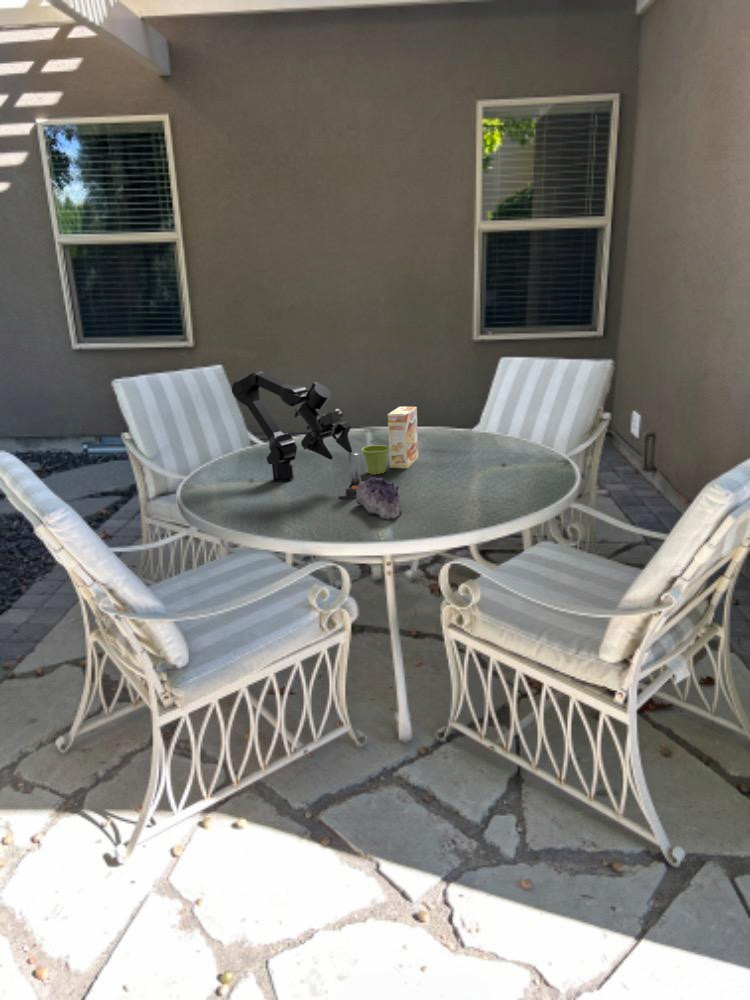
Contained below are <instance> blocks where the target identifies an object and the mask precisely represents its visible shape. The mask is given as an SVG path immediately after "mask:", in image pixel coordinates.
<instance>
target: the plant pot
mask: <svg viewBox="0 0 750 1000" xmlns="http://www.w3.org/2000/svg"><path fill="white" fill-rule="evenodd" d="M361 451H362V453H363V456H364V459H365V464H366V468H367V473H368V474H370V475H376V474H378V475H380V474H385V473H386V469H387V459H388V458H387V457H388V454H389V445H388V446H387V445H382V444H381V445H380V444H379V445H377V444H376V445H375V444H374V445H368V446H364V447H362V448H361ZM384 472H385V473H384Z"/></svg>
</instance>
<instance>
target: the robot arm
mask: <svg viewBox="0 0 750 1000" xmlns="http://www.w3.org/2000/svg"><path fill="white" fill-rule="evenodd" d="M260 388H262V389H264V390H266V391H268V392H271V393H273V394H275V395H276V396H278V397H280V400H281V401H282V402H283V403H284V404H286V405H287V406H289V407H292V408H293V407H295V406H299V407H298V408H295V409H294V418H301V419H302V420H303V421H304V423H305V424H306V425H307V426H306V430H307V431H309V432H307V433H306V434H305V436H303V438H302V440H301V441H300V443H301V447H302V448H303V450H304V451H306V450H308V451H309V452H313V453H316V454H319V455H321V456H323V457H324V458H326V459H329V460H330V461H331V460H333V458H334V457H333V455H332V454H331V452H330V450H329V449H328V447H327V446H326V445H325V443H324V440H325V439H328V438H331V437H332V438H333V440H335V442H336V443H337V444H338V445H339V446H340V447H341V448H342V449H344V450H345V451H346V452H347V453H348V454H350V453H353V450H352V446H351V443H350V439H349V433H350V430H351V429H352V425H350V423H349V422H348V421H343V422H341V421H342V418H343V417H344V414H343V412H342V411H341V410H340V408H335V409H334V410H332V411H331V412H327V413H323V414H322V413H321V412H320V411H319V410H321V409H323V407H324V406H325V404H326V403H327V402H328V400H329V399H330V398H331V396H332V392H331V390H330V388H329V387H327V386H326V385H324V384H320V383H319V381H317V382H313V383H312V384H311V386H310V388H309V389H307V388H306V387H305V386H303V385H299V384H290V383H286V382H284V381H281V380H279V379H277V378H275V377H273V376H271V375H269V374H267V373H266V372H264V371H261V370H260V371H259V370H258V371H254V372H251V373H250V374H248V375H247V376H245V377H244V378H242V379H240V380H238V381H234V382H233V384H232V387H231V393H232V395H233V396H234V398H235V399H236V400H237V401H238V402H239V403H241V404H242V405H244V406H245V407H247V408H248V410H249V411H250V413H251V414H252V416H253V417H254V419H255V420H256V422H257V423H258V425H259V427H260V428H261V430H262V432H263V433H264V434H265V436H266V438H267V439H268V446H269V447H268V448H269V450H270V452H269V454H268V455H267V457H266V461H267V464H268V465H271V468H272V480H271V481H272V482H291V481H292V480H293V478H294V477H295V468H294V467H295V466H294V464H293V462H292V461H295V460H296V455H297V451H298V450H297V449H298V447H297V443H296V440H294V438H293V437H292V435H291V433H290V432H287V433H284V432H282V430H280V428H279V426H278V424H277V423H276V422H275V420H274V419H273V417H272V415H271V414H270V413H269V411H268V410H267V408H266V406H265V405H264V403H263V402H262V400H261V399H260V396H261V395H260ZM337 422H340V423H337ZM335 423H337V425H336V424H335ZM335 425H336V426H335ZM333 428H334V429H333Z"/></svg>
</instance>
